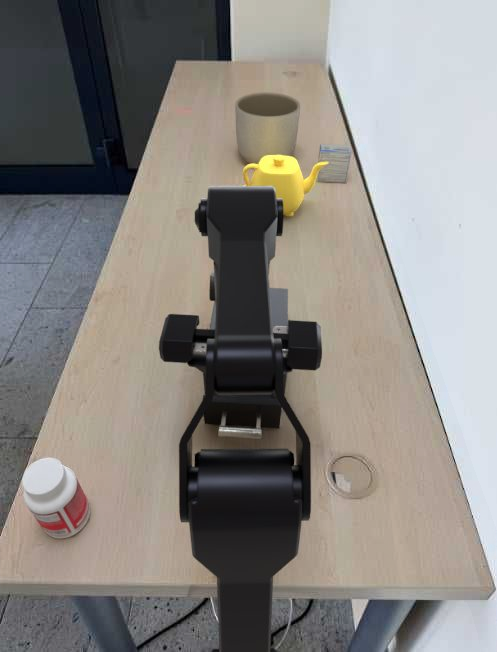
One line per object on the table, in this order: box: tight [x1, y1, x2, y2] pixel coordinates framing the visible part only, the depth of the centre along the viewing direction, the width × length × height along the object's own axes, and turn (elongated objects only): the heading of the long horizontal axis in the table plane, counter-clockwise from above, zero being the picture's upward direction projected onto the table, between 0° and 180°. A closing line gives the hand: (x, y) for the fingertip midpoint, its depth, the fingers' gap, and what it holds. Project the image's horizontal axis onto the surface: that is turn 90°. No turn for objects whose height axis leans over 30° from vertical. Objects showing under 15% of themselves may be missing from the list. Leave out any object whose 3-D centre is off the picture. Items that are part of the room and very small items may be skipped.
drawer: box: [202, 393, 283, 440], centre depth 76 cm, size 23×11×6 cm, turn 176°
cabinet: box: [202, 287, 289, 397], centre depth 82 cm, size 20×13×8 cm, turn 176°
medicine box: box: [316, 143, 352, 184], centre depth 127 cm, size 8×4×9 cm, turn 85°
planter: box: [234, 91, 301, 164], centre depth 132 cm, size 17×17×15 cm
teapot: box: [242, 155, 329, 217], centre depth 115 cm, size 14×20×13 cm
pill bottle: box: [21, 457, 91, 539], centre depth 60 cm, size 6×6×11 cm
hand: (241, 384), depth 63 cm, fingers open, 5 cm apart
